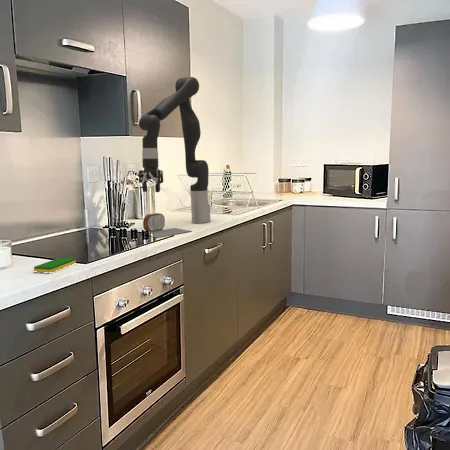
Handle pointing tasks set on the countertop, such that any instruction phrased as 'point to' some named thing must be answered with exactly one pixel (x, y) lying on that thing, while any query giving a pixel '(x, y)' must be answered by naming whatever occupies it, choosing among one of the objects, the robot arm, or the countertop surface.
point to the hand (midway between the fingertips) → (151, 191)
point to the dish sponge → (54, 265)
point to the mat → (169, 232)
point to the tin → (153, 222)
